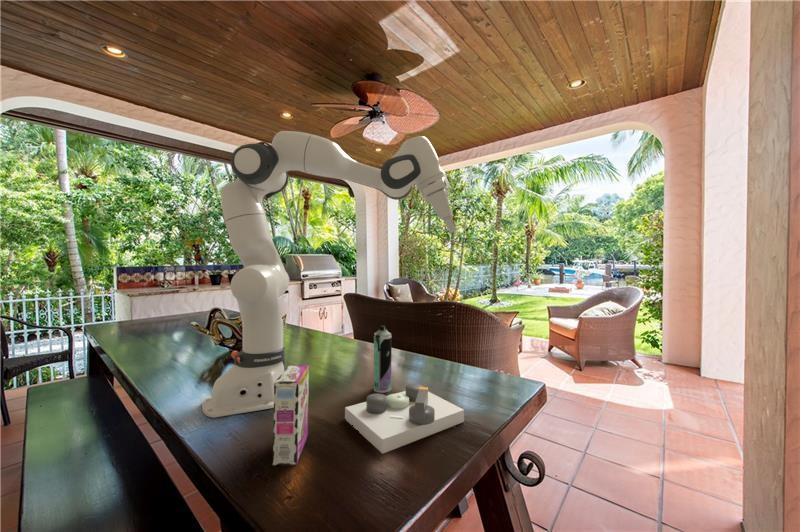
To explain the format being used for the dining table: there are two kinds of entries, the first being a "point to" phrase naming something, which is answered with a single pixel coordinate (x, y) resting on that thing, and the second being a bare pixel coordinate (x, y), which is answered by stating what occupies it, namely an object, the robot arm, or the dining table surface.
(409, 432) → the base
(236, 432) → the dining table surface
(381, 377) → the spray can
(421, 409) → the wing knob
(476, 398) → the dining table surface
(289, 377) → the candy bar box
